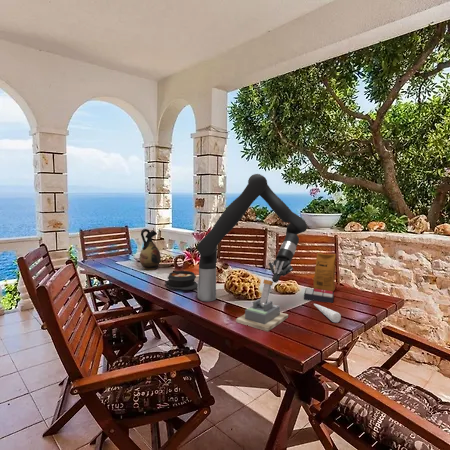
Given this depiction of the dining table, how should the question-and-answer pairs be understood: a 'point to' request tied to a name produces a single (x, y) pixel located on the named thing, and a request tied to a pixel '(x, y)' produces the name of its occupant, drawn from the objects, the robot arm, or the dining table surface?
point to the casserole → (181, 280)
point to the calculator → (318, 295)
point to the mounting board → (264, 327)
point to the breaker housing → (262, 312)
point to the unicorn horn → (329, 313)
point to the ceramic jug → (149, 252)
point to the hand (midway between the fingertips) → (274, 281)
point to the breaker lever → (265, 292)
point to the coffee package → (325, 272)
